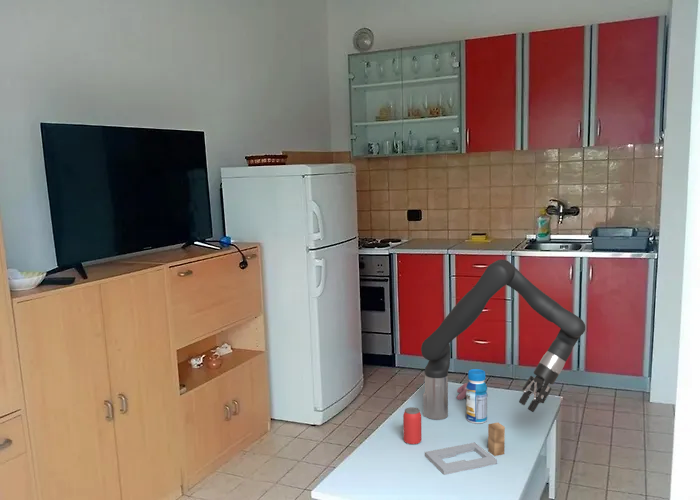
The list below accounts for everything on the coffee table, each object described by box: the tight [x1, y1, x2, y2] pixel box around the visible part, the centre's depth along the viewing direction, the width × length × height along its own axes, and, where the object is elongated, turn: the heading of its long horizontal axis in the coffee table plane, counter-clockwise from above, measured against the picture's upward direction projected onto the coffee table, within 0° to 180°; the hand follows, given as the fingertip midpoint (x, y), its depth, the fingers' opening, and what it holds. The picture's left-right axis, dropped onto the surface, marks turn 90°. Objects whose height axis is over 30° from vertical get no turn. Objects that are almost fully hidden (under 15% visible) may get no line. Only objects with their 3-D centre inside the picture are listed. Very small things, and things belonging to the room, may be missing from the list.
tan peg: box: [487, 422, 506, 457], centre depth 203 cm, size 4×4×10 cm
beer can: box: [402, 406, 422, 445], centre depth 213 cm, size 7×7×12 cm
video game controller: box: [456, 382, 468, 401], centre depth 256 cm, size 10×5×7 cm, turn 169°
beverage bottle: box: [465, 368, 489, 425], centre depth 230 cm, size 8×8×20 cm
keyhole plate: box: [424, 442, 498, 476], centre depth 199 cm, size 20×14×2 cm
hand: (525, 407), depth 202 cm, fingers open, 8 cm apart
